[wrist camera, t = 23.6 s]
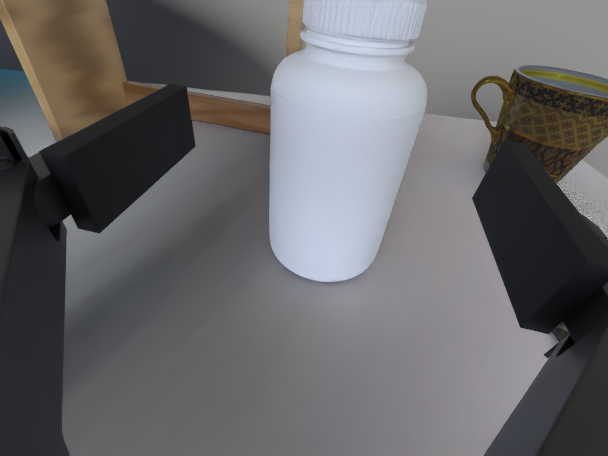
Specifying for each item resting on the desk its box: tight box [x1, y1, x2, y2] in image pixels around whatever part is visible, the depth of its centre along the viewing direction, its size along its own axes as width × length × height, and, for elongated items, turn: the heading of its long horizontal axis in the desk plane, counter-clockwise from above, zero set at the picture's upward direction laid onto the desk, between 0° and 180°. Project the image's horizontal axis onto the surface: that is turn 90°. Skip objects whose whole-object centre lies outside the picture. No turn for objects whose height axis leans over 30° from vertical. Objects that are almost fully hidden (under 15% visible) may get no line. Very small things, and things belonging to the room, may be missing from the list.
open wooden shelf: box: [0, 0, 307, 141], centre depth 27 cm, size 11×24×21 cm, turn 78°
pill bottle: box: [269, 0, 427, 282], centre depth 18 cm, size 8×8×15 cm
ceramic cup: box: [471, 65, 608, 184], centre depth 31 cm, size 13×10×10 cm
